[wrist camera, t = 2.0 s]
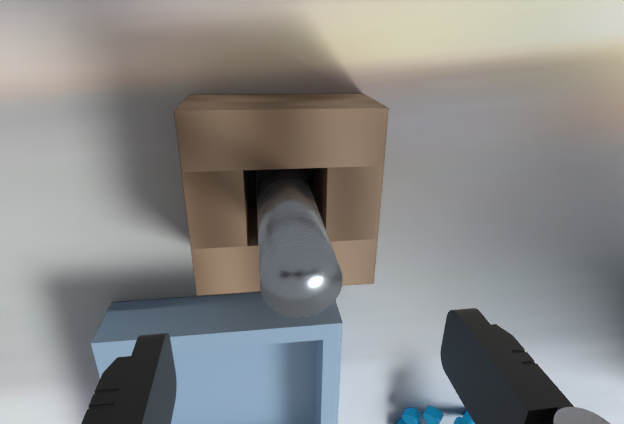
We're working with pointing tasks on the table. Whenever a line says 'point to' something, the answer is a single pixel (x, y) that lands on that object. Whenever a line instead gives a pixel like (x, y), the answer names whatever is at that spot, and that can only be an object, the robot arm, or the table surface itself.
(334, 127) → the pin block
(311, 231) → the peg
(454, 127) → the table surface
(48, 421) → the table surface
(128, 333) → the tray
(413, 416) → the gear
